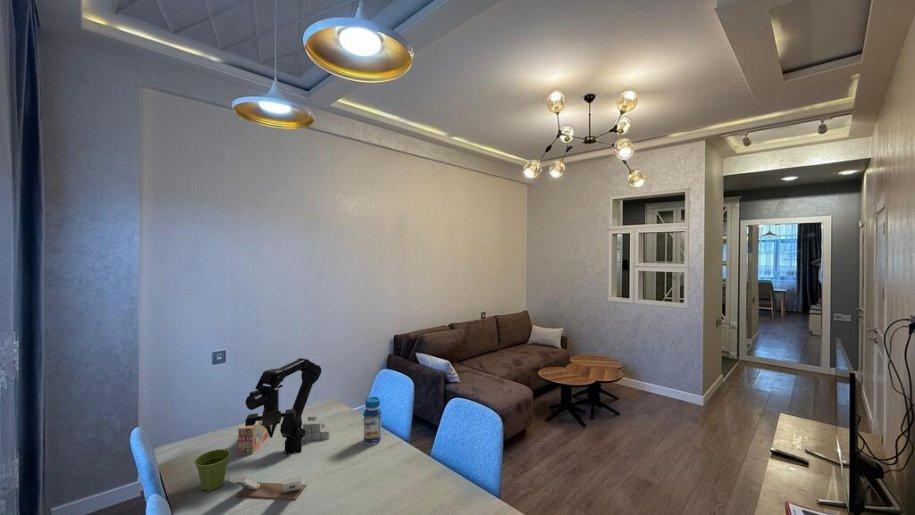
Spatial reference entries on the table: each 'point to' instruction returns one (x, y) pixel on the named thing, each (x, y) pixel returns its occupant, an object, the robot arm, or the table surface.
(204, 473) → the plant pot
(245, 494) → the tile board
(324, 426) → the puzzle cube
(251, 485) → the tile
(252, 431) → the stack of blocks
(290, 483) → the tile
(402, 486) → the table surface
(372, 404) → the beverage bottle
